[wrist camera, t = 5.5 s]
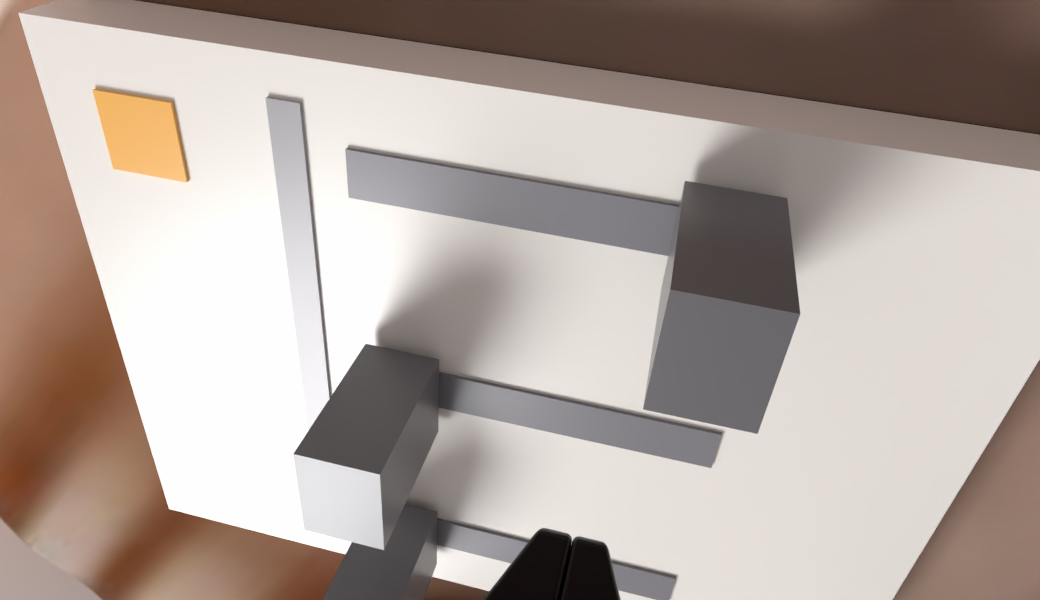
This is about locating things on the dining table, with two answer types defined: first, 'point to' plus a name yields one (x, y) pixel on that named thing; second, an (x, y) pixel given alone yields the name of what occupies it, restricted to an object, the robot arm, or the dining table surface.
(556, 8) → the dining table surface
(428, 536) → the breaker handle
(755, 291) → the block
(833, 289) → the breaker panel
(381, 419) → the handle
